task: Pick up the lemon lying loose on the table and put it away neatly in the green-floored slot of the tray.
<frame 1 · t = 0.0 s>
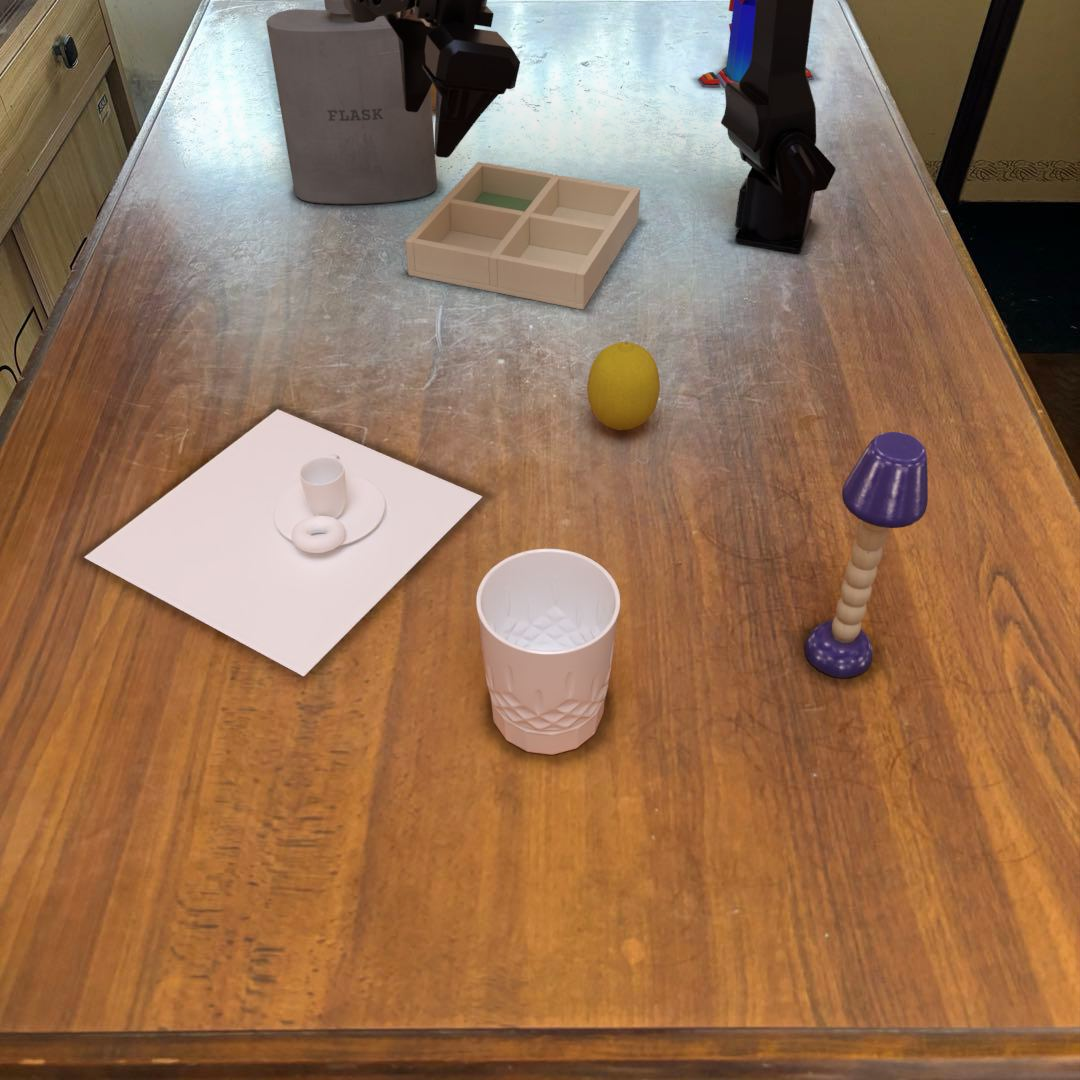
hand: (425, 133, 90), 15 cm above the table, tool pointing down, fingers open, 9 cm apart
lemon: (620, 430, 87), on the table
flask: (366, 194, 116), on the table
tray: (527, 247, 108), on the table
onion: (438, 107, 132), on the table
teacup and saucer: (289, 528, 79), on the table
white cup: (547, 712, 67), on the table
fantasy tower: (755, 80, 138), on the table
toy lamp: (839, 652, 71), on the table
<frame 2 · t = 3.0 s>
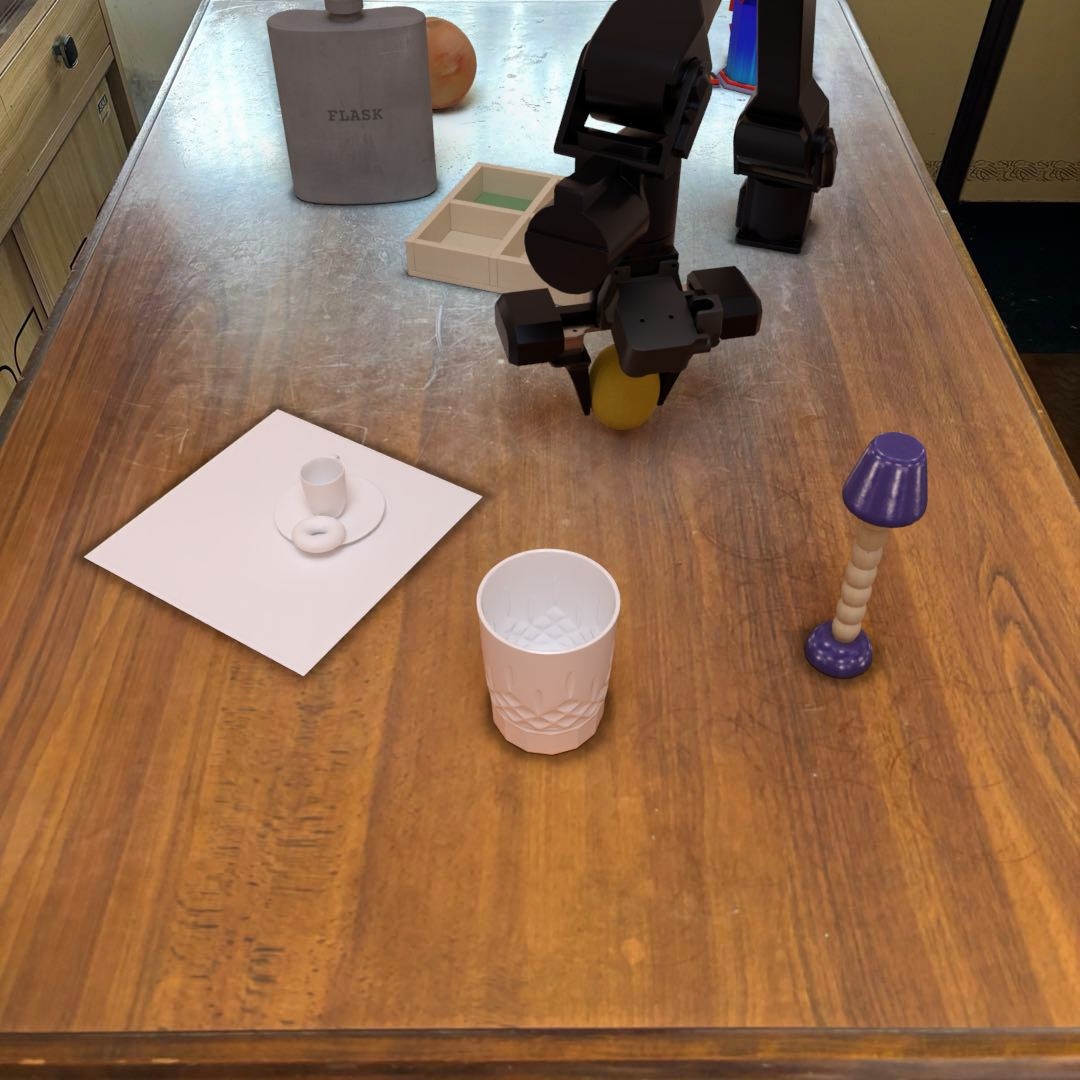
hand: (621, 407, 86), 2 cm above the table, tool pointing down, fingers closed on lemon, 5 cm apart
lemon: (620, 430, 87), on the table, touching gripper
everything else where it was.
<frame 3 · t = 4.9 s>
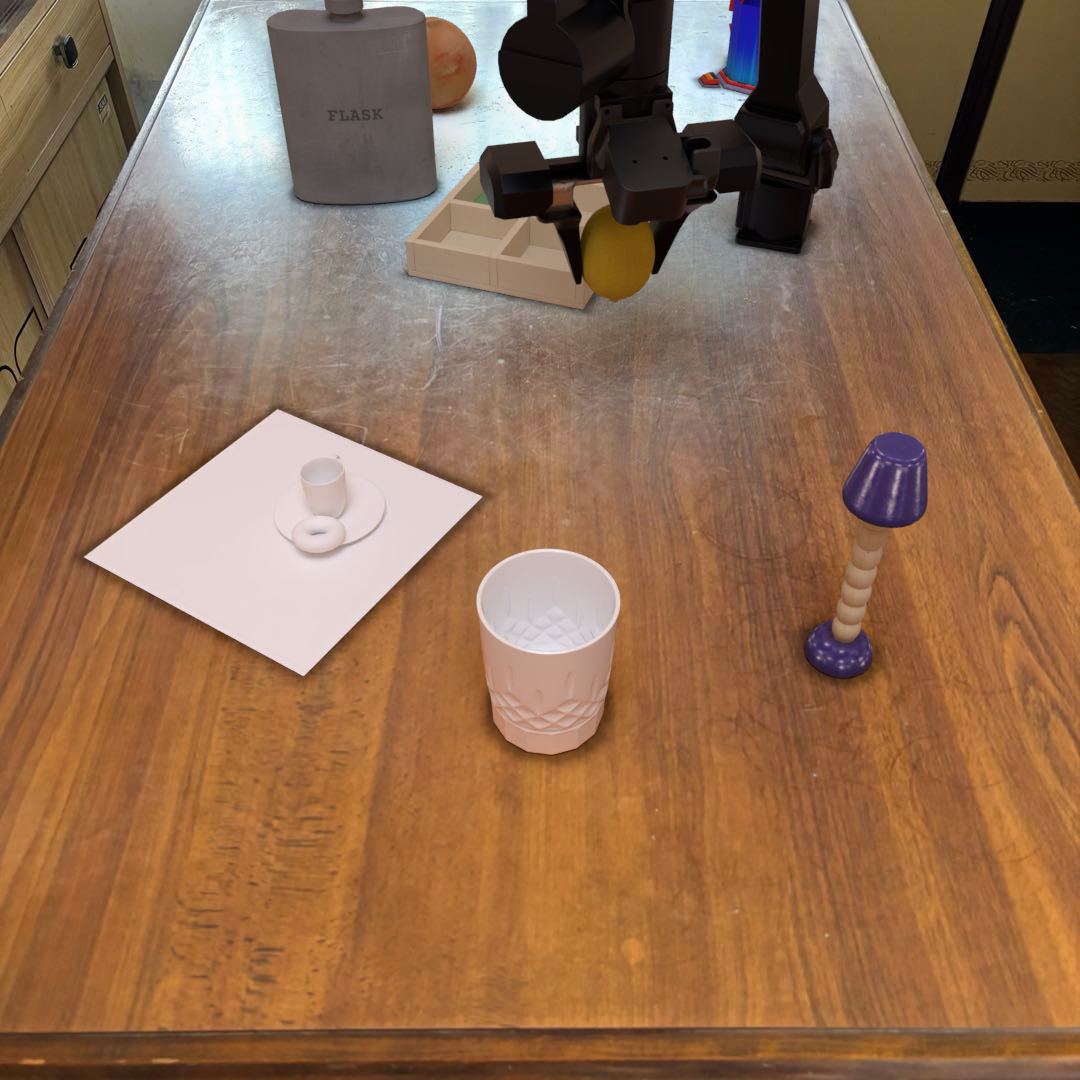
hand: (614, 276, 82), 12 cm above the table, tool pointing down, fingers closed on lemon, 5 cm apart
lemon: (614, 303, 83), point 9 cm above the table, touching gripper
everything else where it was.
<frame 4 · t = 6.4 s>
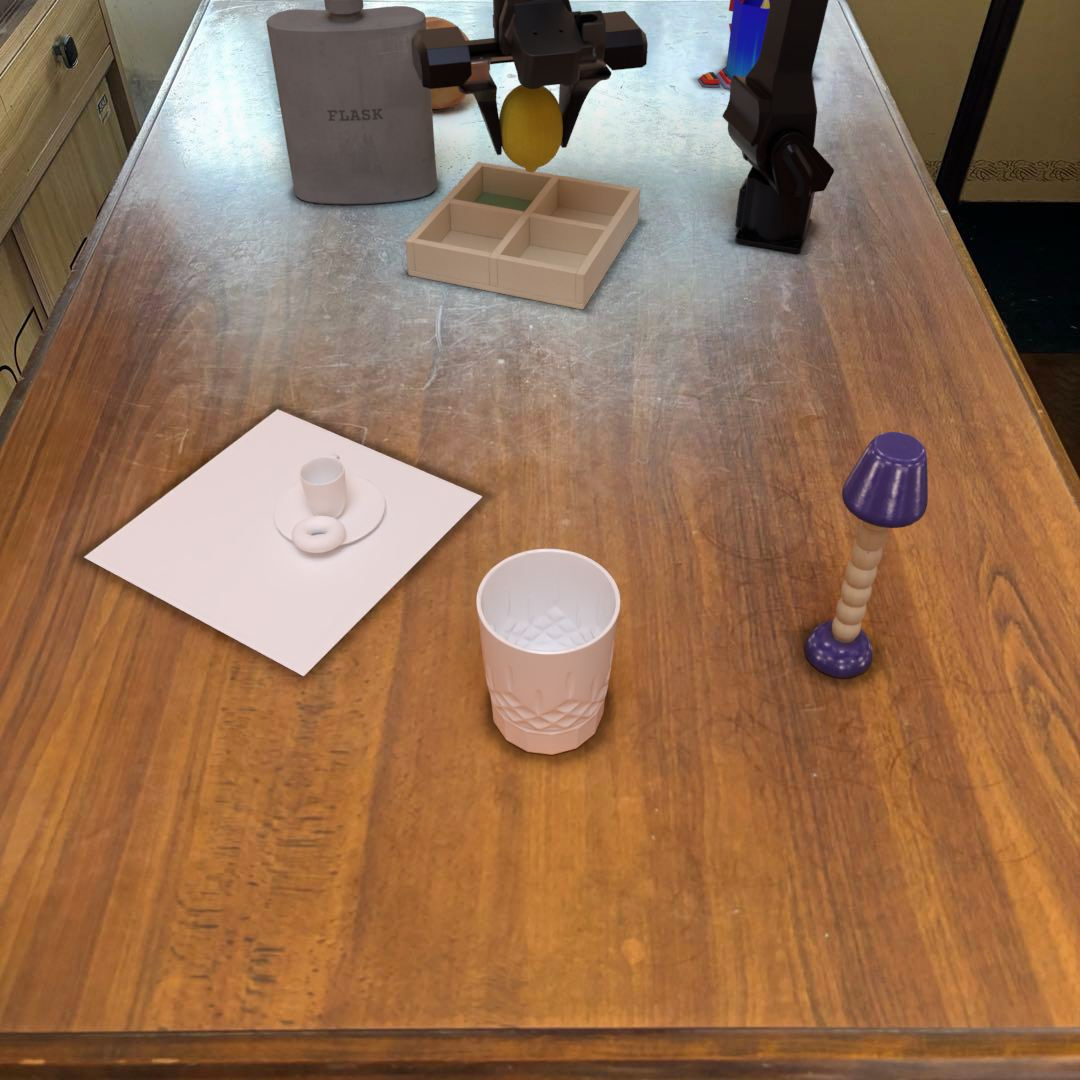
hand: (530, 149, 96), 12 cm above the table, tool pointing down, fingers closed on lemon, 5 cm apart
lemon: (531, 174, 98), point 10 cm above the table, touching gripper
everything else where it was.
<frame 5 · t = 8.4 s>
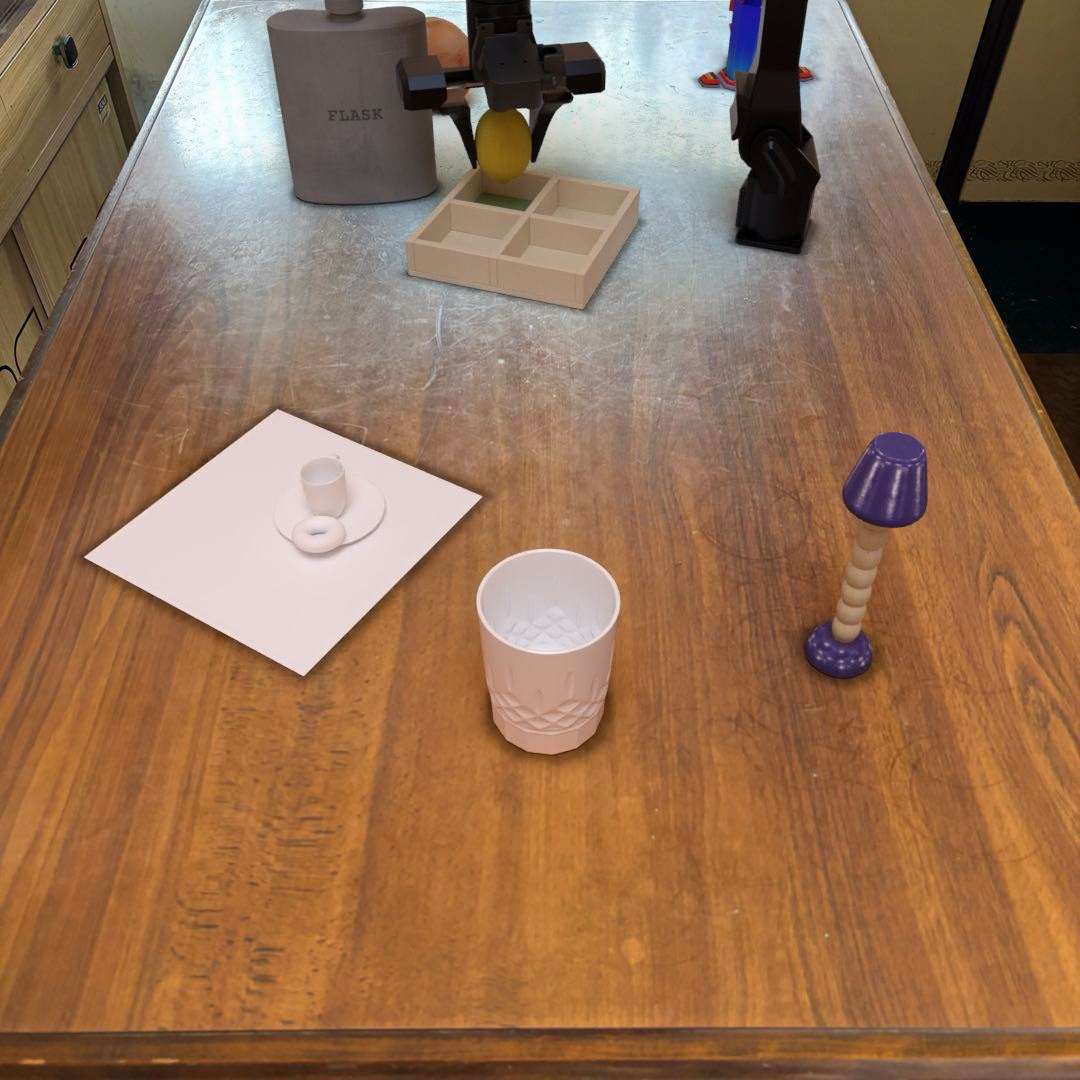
hand: (503, 164, 107), 6 cm above the table, tool pointing down, fingers closed on lemon, 5 cm apart
lemon: (504, 185, 109), point 4 cm above the table, touching gripper
everything else where it was.
when the fingers open (3 cm above the table, at t = 10.1 s): lemon stays where it is, resting on tray.
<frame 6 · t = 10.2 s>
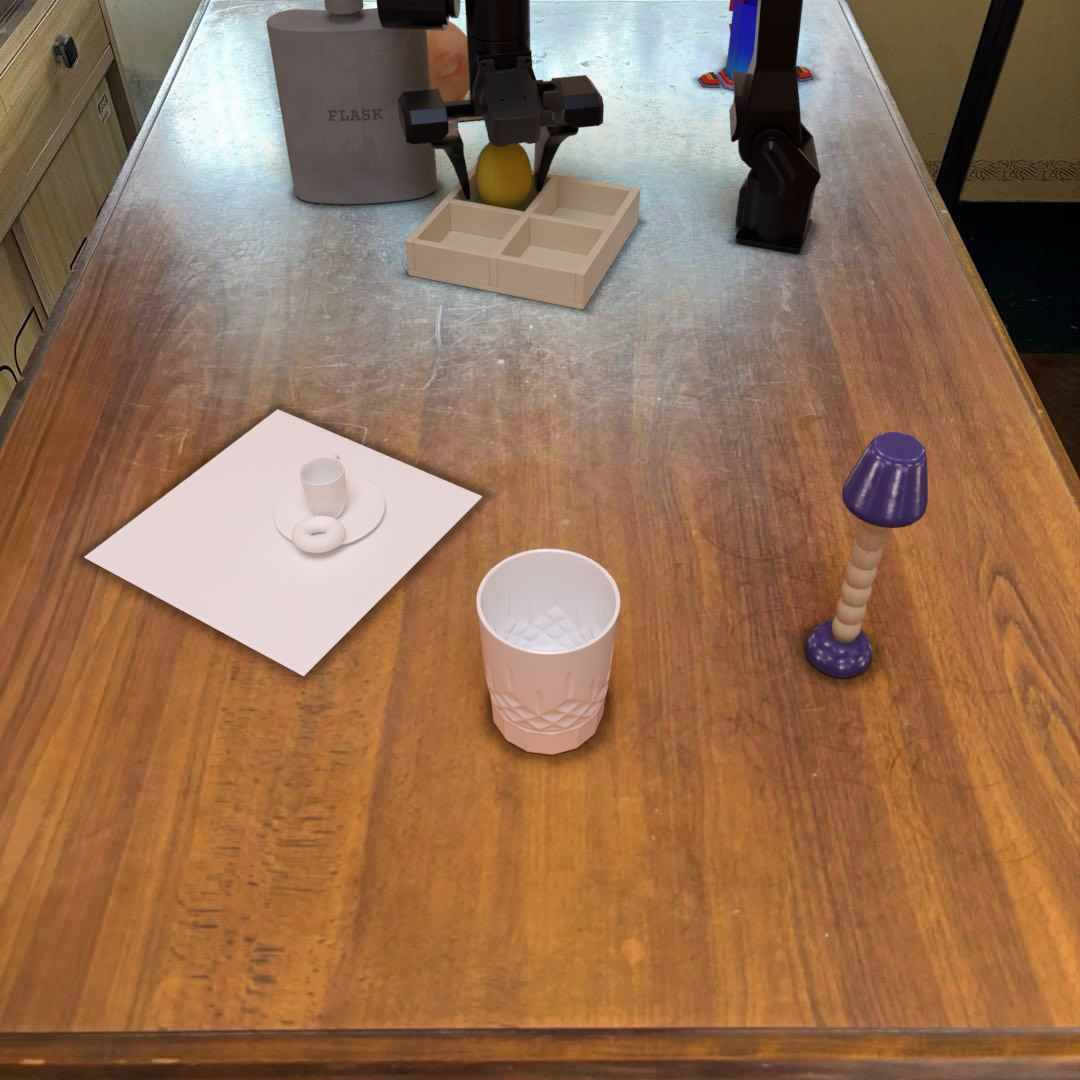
hand: (503, 194, 109), 3 cm above the table, tool pointing down, fingers open, 7 cm apart
lemon: (504, 215, 111), point 1 cm above the table, touching tray
everything else where it was.
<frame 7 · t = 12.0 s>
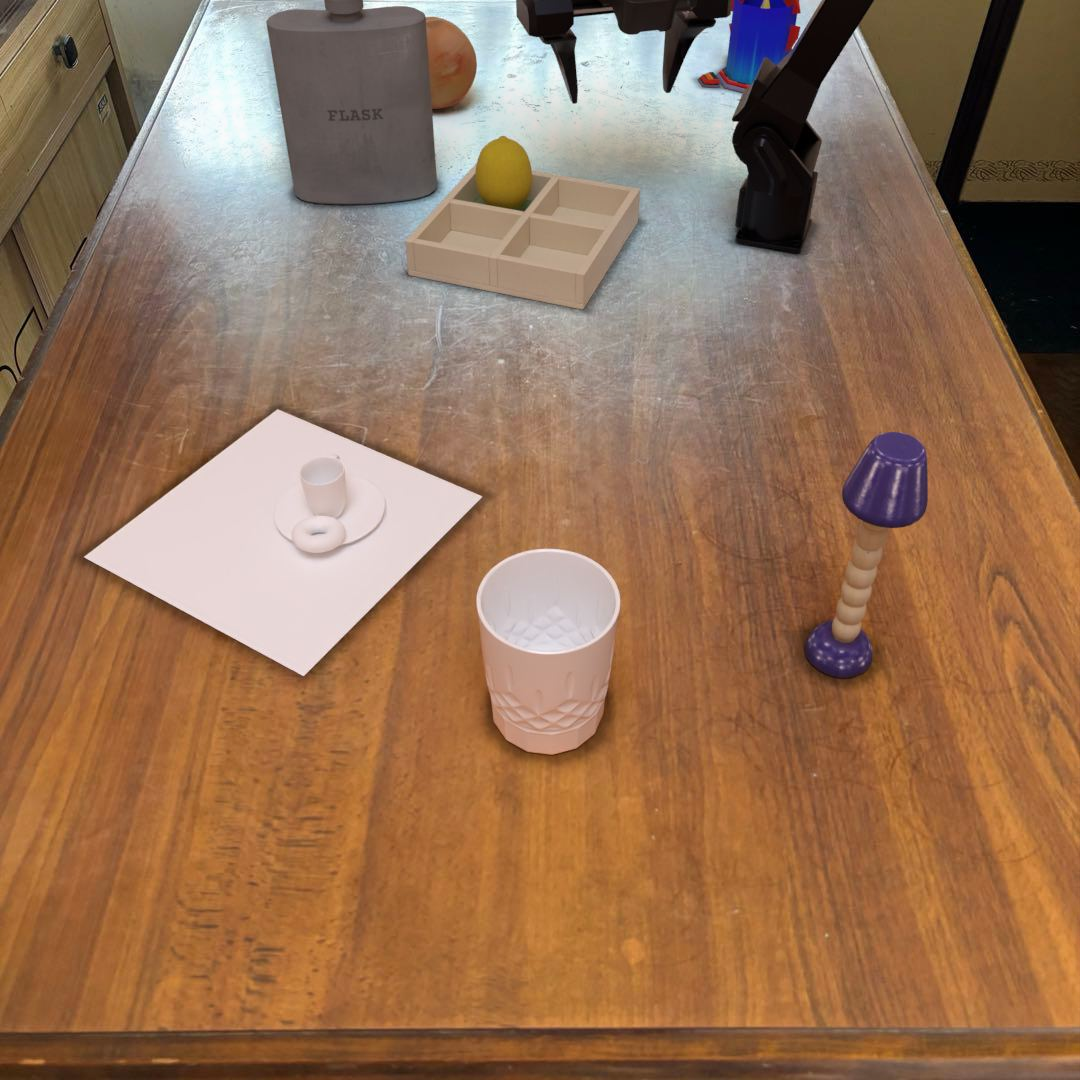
hand: (620, 96, 105), 12 cm above the table, tool pointing down, fingers open, 9 cm apart
nothing on the table moved.
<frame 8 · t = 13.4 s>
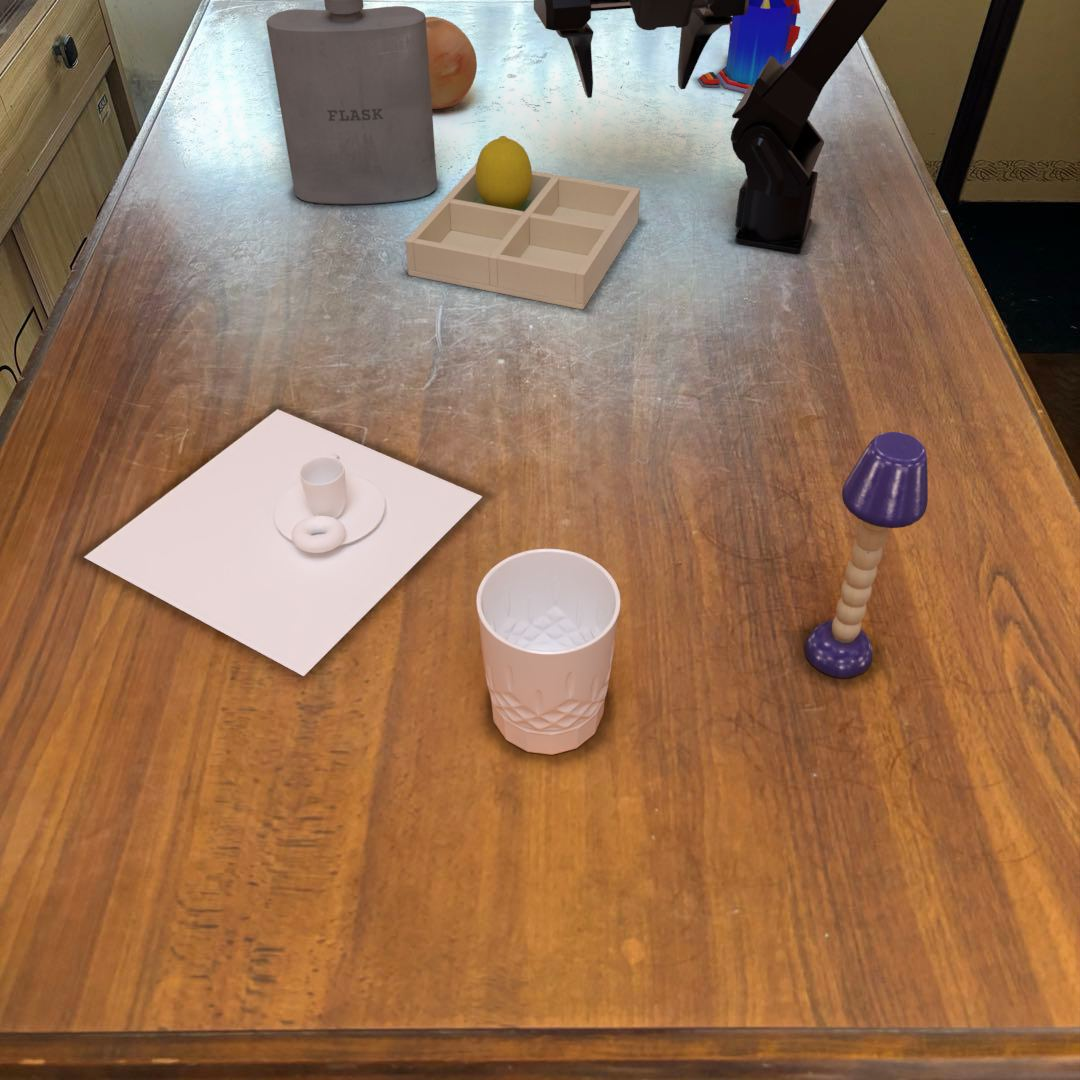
hand: (635, 92, 105), 12 cm above the table, tool pointing down, fingers open, 9 cm apart
nothing on the table moved.
at the end: lemon 0.2 cm from the target spot in the tray, point 0.6 cm above the tray's base; the gripper is holding nothing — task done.
